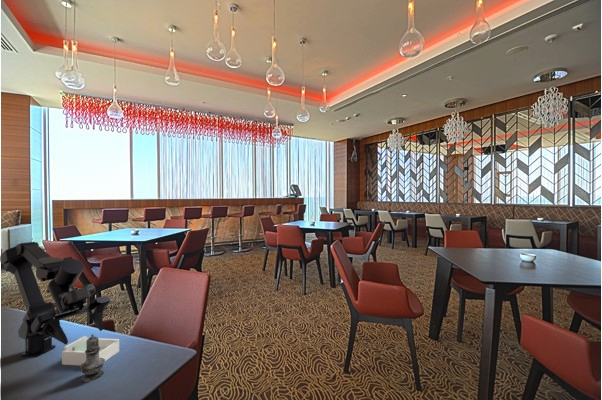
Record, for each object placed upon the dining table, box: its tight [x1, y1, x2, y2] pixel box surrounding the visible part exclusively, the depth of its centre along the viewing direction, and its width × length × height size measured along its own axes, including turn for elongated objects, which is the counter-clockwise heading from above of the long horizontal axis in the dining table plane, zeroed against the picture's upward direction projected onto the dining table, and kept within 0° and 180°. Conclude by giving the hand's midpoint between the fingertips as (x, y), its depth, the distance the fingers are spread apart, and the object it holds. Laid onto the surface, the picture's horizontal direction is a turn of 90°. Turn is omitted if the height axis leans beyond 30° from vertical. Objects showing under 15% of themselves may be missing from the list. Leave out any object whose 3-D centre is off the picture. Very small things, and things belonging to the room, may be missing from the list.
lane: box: [61, 335, 120, 366], centre depth 93 cm, size 12×9×5 cm
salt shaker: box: [79, 333, 106, 382], centre depth 83 cm, size 6×6×12 cm
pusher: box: [72, 337, 90, 351], centre depth 93 cm, size 1×7×4 cm, turn 174°
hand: (85, 336), depth 84 cm, fingers open, 9 cm apart
